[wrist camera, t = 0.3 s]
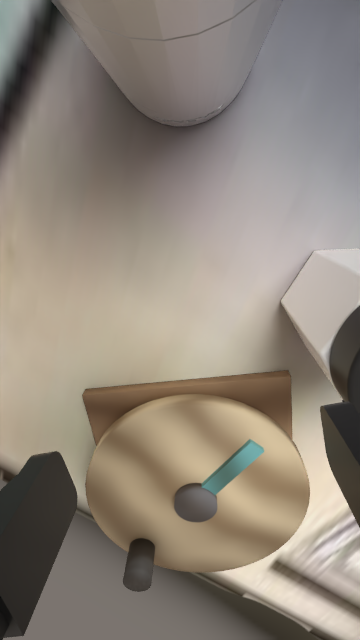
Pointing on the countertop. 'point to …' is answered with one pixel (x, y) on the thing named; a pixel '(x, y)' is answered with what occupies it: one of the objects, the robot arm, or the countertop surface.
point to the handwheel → (196, 486)
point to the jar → (330, 316)
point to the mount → (251, 389)
